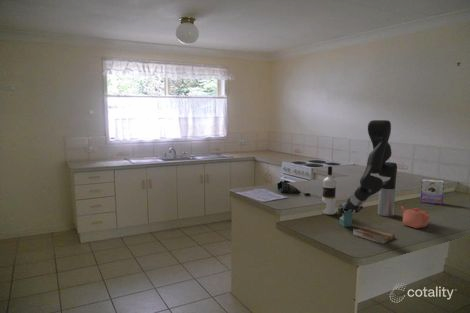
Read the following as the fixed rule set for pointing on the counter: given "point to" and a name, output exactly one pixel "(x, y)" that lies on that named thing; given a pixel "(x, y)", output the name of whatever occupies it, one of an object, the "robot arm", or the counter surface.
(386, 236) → the shelf
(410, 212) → the teapot
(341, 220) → the tea box
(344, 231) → the counter surface
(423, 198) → the candy box
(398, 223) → the counter surface
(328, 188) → the vodka
